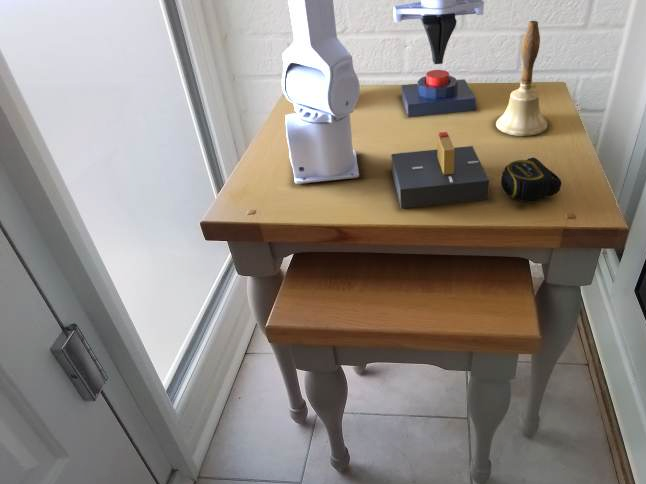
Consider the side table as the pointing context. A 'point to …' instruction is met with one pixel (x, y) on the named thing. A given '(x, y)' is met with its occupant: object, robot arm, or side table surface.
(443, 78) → the bell button
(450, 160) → the lock knob
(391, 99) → the side table surface
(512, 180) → the tape measure
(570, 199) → the side table surface
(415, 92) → the button base
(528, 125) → the hand bell
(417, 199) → the plate
